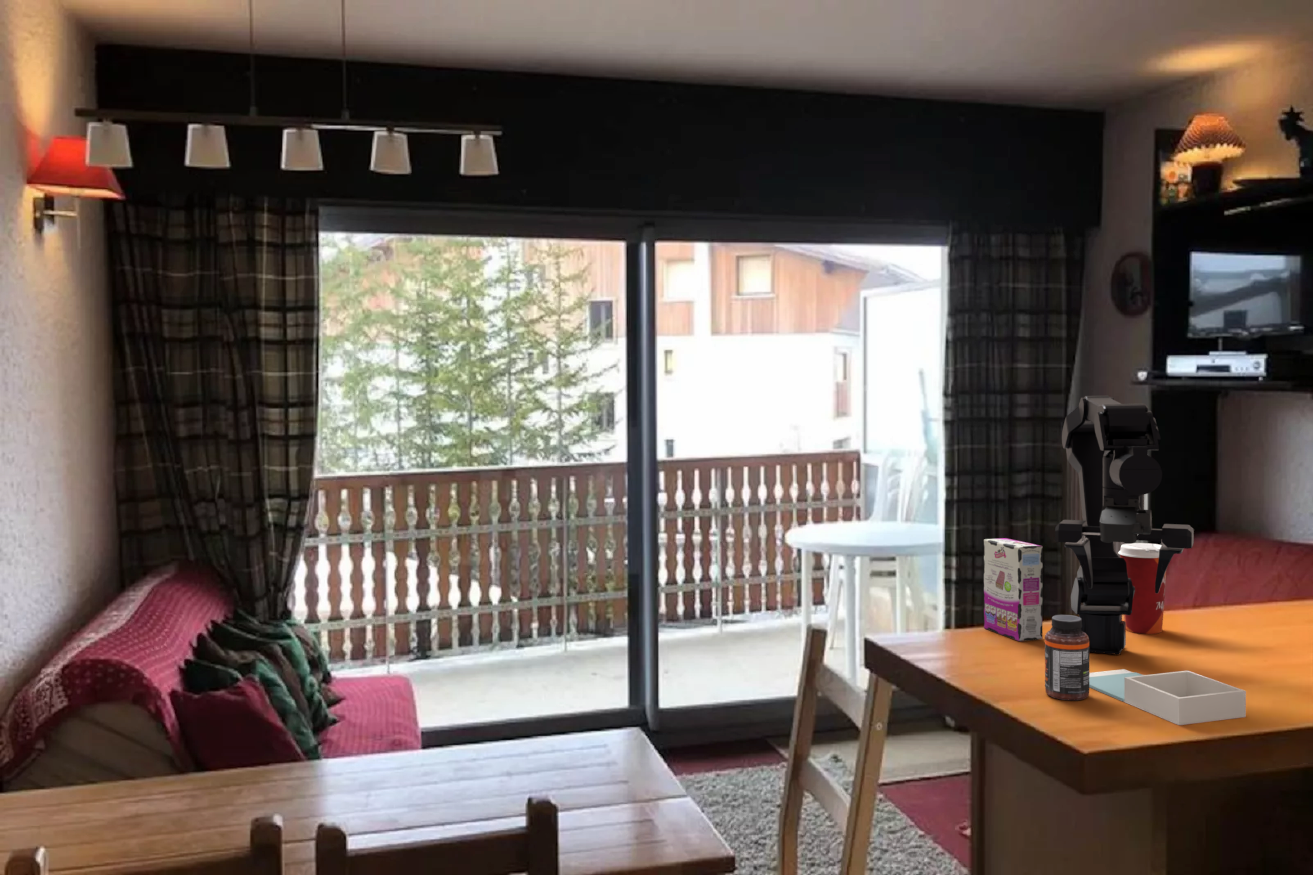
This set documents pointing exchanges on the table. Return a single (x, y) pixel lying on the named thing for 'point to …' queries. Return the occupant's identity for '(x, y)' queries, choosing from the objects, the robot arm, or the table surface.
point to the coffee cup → (1144, 588)
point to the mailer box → (1173, 695)
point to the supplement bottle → (1067, 659)
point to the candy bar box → (1013, 588)
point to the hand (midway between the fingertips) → (1123, 590)
